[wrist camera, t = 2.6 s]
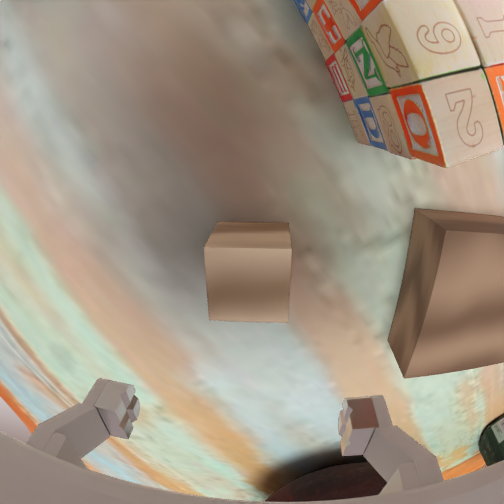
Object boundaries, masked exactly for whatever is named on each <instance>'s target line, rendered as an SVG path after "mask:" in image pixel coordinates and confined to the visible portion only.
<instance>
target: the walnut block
mask: <svg viewBox="0 0 504 504" xmlns="http://www.w3.org/2000/svg"><path fill="white" fill-rule="evenodd" d="M388 342H389V345H390V347H391V349H392V351H393V354H394V356H395V358H396V361H397V363H398V365H399V368H400V370H401V372H402V375H403V377H404V378H412V377H421V376H429V375H436V374H443V373H450V372H456V371H462V370H468V369H473V368H478V367H483V366H488V365H493V364H498V363H502V362H504V217H501V216H492V215H483V214H473V213H463V212H452V211H441V210H428V209H415V211H414V218H413V225H412V232H411V238H410V244H409V250H408V255H407V261H406V266H405V271H404V276H403V280H402V285H401V290H400V294H399V298H398V303H397V307H396V311H395V315H394V319H393V323H392V327H391V330H390V334H389V338H388Z"/></svg>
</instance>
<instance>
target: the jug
mask: <svg viewBox="0 0 504 504" xmlns="http://www.w3.org/2000/svg"><path fill="white" fill-rule="evenodd" d="M386 484H387V482H386V481H385V479H384V478H383V477H382V476H381V475H380V474H379V473H378V472H377V471H376V470H375V468H374V467H373V466H372V465H371V464H370V463H369V462H360V463H350V464H343V465H336V466H331V467H327V468H324V469H321V470H318V471H315V472H311V473H308V474H306V475H304V476H301V477H299V478H297V479H295V480H293V481H291V482H290V483H288V484H286V485H285V486H283V487H281V488H280V489H279V490H277V491H276V492H275V493H273V494H272V495H271V496H270V497H269V498H268V499H267V500H266V501H265V502H311V501H329V500H341V499H351V498H360V497H368V496H375V495H379V494H380V492H381V491H382V490H383V488H384V487H385V486H386Z"/></svg>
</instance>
